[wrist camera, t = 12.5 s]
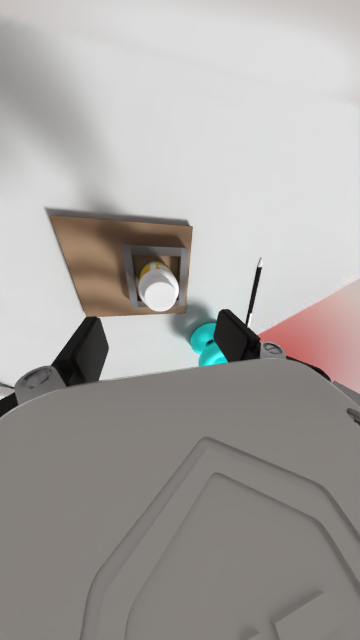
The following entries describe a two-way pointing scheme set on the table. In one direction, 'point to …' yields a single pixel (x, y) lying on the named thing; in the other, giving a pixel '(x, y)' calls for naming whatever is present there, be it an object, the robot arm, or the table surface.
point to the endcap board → (121, 261)
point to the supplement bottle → (158, 286)
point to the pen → (254, 292)
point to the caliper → (6, 391)
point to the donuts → (206, 345)
